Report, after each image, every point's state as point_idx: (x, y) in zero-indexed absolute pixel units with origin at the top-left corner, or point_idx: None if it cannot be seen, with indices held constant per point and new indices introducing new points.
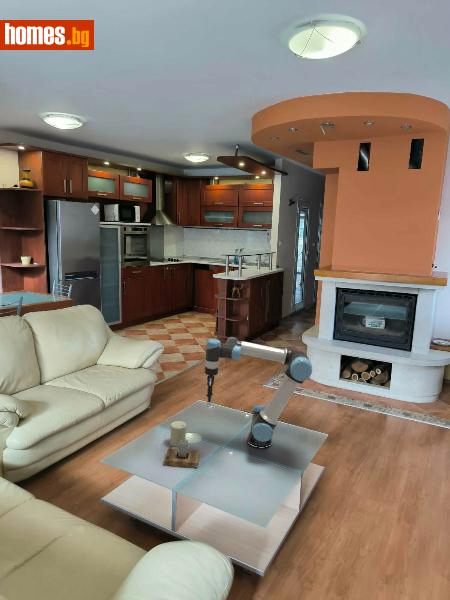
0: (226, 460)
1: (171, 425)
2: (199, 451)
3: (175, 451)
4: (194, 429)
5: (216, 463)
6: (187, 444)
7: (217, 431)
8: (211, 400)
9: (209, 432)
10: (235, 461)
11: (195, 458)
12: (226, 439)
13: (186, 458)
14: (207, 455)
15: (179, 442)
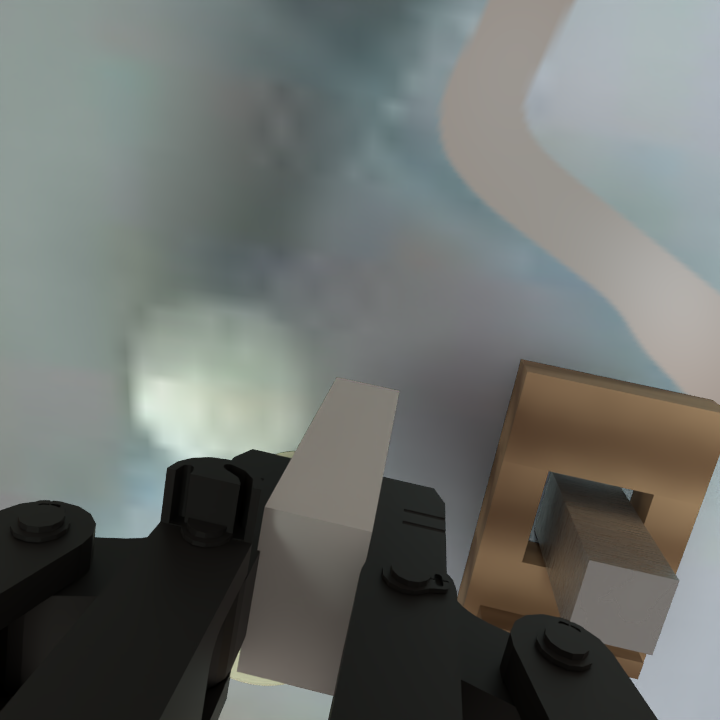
0: (632, 114)
1: (275, 683)
2: (538, 376)
3: (514, 577)
4: (76, 347)
5: (668, 222)
6: (597, 543)
7: (96, 124)
8: (383, 460)
9: (121, 211)
10: (665, 19)
11: (653, 428)
12: (248, 49)
13: (582, 483)
14: (524, 287)
15: (622, 645)
